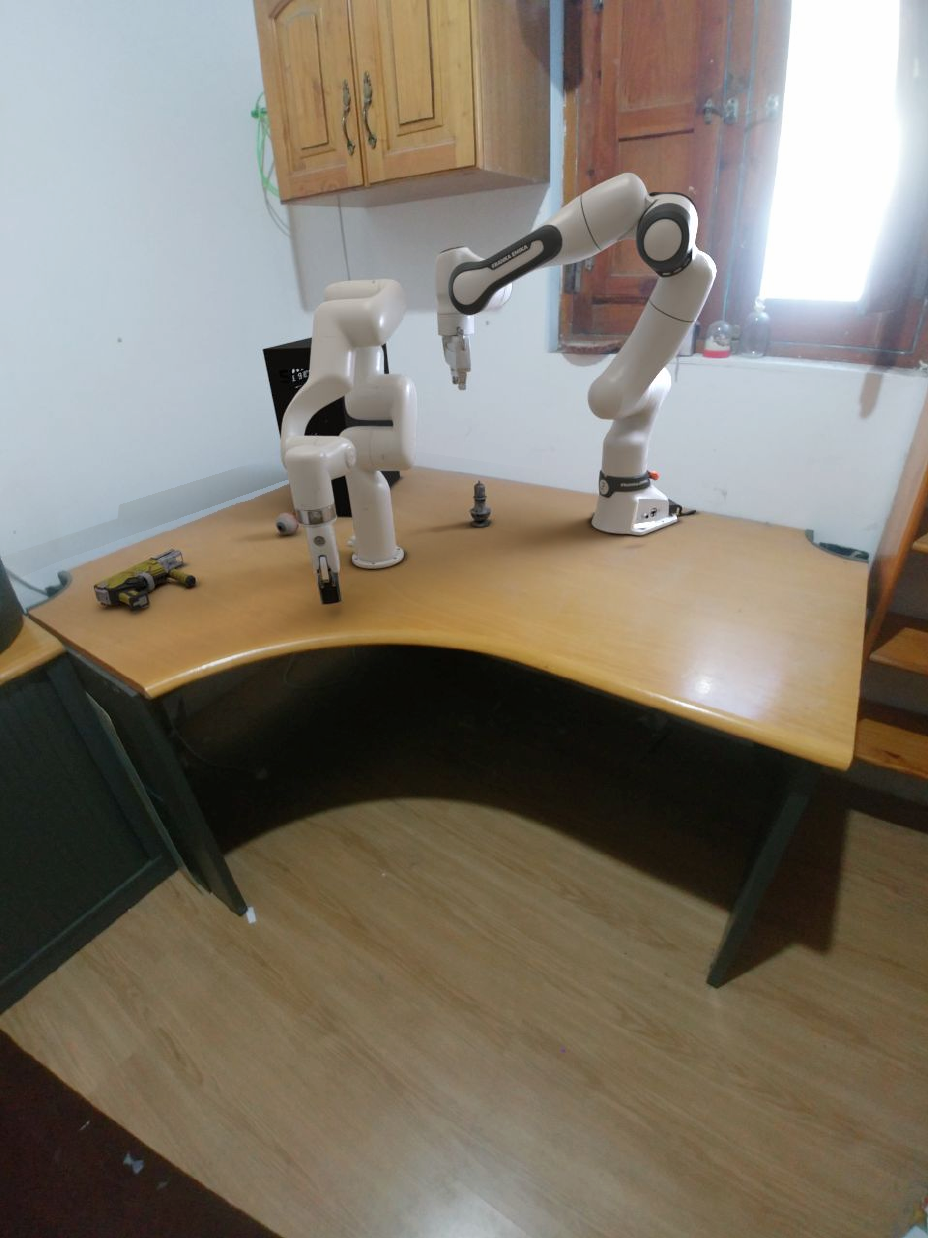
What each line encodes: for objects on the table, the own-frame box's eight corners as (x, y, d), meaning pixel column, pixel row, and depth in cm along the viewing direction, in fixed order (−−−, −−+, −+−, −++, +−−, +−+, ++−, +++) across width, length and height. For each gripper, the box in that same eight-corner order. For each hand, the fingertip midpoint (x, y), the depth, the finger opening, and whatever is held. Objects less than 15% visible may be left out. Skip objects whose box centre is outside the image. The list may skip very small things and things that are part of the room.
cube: (321, 604, 122) (317, 583, 120) (321, 596, 126) (317, 574, 123) (342, 602, 123) (338, 580, 120) (341, 593, 126) (337, 572, 124)
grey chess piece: (489, 527, 162) (488, 483, 156) (468, 526, 163) (466, 483, 157) (493, 519, 167) (491, 476, 161) (472, 518, 168) (470, 476, 162)
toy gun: (219, 557, 146) (169, 546, 150) (142, 598, 126) (87, 585, 129) (222, 574, 148) (172, 563, 152) (147, 618, 128) (92, 604, 132)
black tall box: (359, 516, 174) (334, 346, 152) (295, 513, 179) (262, 349, 156) (400, 477, 206) (384, 331, 183) (345, 476, 210) (323, 334, 188)
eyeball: (273, 537, 164) (268, 516, 161) (287, 528, 169) (282, 508, 166) (291, 539, 161) (286, 518, 158) (305, 530, 166) (301, 510, 163)
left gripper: (336, 526, 108) (351, 614, 117) (335, 497, 123) (348, 578, 132) (294, 531, 107) (312, 620, 116) (297, 501, 121) (313, 582, 131)
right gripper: (476, 328, 137) (479, 392, 144) (461, 322, 154) (464, 379, 161) (449, 330, 136) (453, 394, 143) (437, 324, 154) (441, 381, 161)
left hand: (331, 596), depth 124 cm, fingers closed on cube, 4 cm apart
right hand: (459, 386), depth 152 cm, fingers open, 8 cm apart
